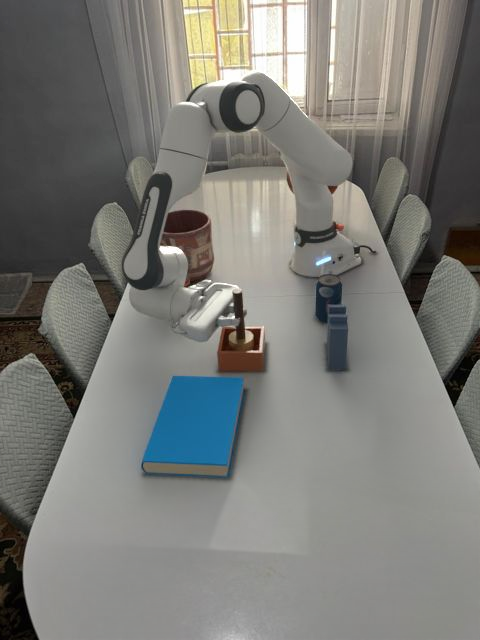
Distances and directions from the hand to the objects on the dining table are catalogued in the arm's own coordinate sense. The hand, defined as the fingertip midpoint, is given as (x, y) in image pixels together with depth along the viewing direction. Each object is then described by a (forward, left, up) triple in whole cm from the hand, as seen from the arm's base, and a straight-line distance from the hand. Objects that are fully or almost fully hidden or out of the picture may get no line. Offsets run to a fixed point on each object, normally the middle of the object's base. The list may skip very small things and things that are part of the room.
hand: (242, 317), depth 119 cm
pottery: (-3, -47, -12) cm, 49 cm away
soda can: (-27, -4, -12) cm, 30 cm away
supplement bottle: (+5, -31, -12) cm, 34 cm away
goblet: (-59, -64, -12) cm, 88 cm away
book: (+19, +17, -12) cm, 28 cm away
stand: (-19, +11, -12) cm, 25 cm away
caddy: (0, -1, -12) cm, 12 cm away
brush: (-3, +3, -8) cm, 9 cm away
